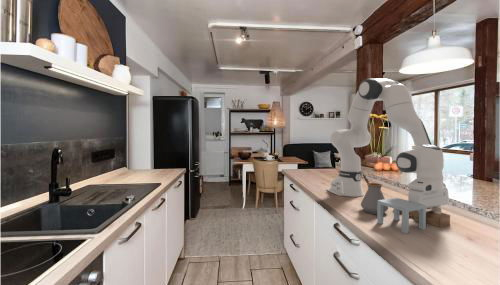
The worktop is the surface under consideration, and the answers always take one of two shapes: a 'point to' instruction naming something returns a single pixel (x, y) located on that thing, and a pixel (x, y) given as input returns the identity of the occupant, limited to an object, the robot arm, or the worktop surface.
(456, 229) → the worktop surface
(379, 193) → the coffee pot
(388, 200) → the small grey table
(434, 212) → the wooden mallet
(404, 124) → the robot arm
